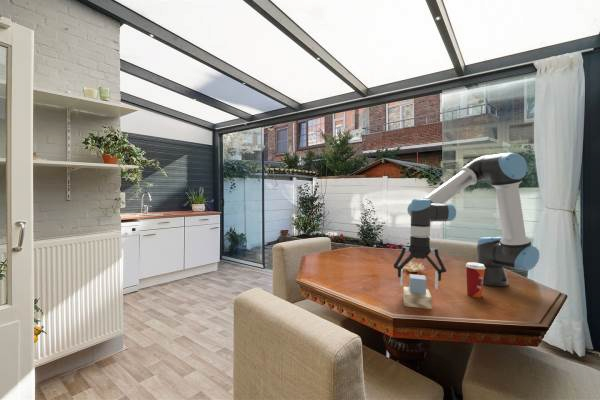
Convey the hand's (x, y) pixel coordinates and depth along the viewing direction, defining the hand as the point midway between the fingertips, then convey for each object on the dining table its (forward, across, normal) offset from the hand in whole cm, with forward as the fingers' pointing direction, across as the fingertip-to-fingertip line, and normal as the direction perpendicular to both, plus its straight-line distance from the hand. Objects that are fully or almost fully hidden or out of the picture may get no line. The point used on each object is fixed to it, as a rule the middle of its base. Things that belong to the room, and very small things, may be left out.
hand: (418, 286), depth 124 cm
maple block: (+7, +1, +2) cm, 7 cm away
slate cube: (+2, +1, +1) cm, 2 cm away
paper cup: (+6, -25, -16) cm, 30 cm away
